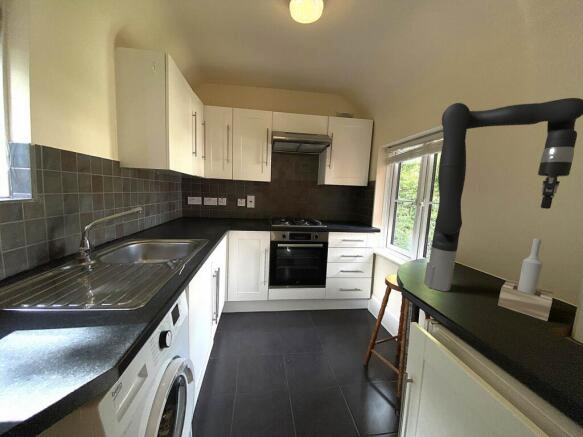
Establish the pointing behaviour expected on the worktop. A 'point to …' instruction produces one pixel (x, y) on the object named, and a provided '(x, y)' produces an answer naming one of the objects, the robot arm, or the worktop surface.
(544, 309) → the socket holder
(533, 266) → the bottle
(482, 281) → the worktop surface
